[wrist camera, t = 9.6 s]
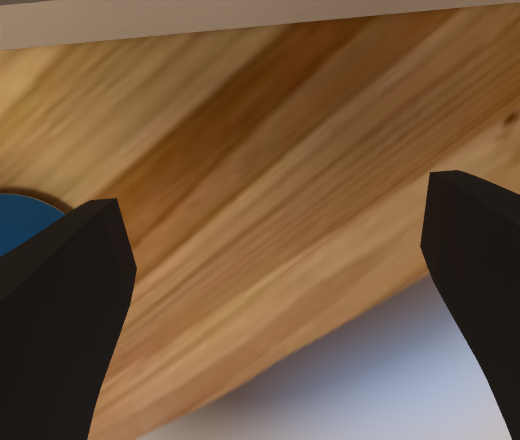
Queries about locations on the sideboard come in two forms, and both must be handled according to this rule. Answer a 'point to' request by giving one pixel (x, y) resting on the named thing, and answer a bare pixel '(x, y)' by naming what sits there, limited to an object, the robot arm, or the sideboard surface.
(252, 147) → the sideboard surface
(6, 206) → the beverage can
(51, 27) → the bay
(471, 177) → the robot arm
